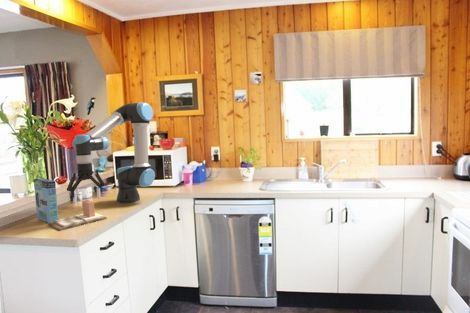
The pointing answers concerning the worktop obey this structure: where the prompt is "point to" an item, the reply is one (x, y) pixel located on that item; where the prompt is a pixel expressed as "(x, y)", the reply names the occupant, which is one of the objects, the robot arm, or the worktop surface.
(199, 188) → the worktop surface
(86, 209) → the pink block on base
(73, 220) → the board
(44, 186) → the blue cereal box
